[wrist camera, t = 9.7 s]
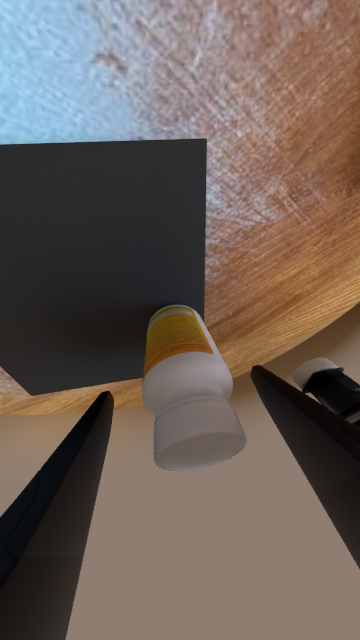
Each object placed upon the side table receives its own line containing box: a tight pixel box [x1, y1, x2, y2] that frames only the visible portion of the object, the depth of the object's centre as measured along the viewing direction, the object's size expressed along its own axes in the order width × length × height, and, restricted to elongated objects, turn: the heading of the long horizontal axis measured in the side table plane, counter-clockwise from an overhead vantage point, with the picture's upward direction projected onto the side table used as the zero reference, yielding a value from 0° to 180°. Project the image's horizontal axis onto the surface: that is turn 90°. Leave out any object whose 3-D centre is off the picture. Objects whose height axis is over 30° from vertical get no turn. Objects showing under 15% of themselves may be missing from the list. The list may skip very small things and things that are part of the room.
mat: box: [0, 139, 207, 396], centre depth 13 cm, size 19×20×1 cm
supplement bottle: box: [142, 305, 246, 471], centre depth 10 cm, size 5×5×10 cm
